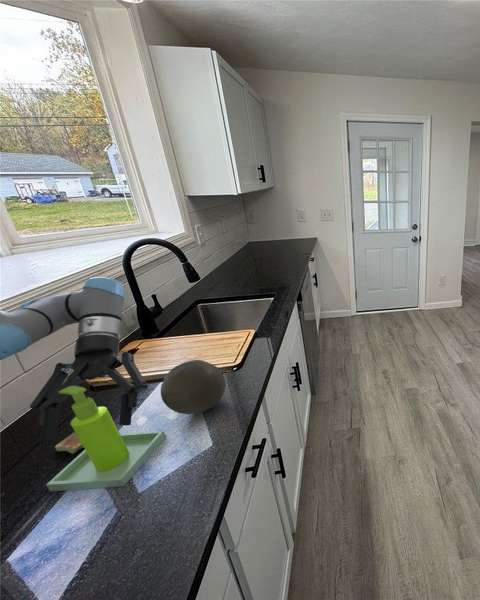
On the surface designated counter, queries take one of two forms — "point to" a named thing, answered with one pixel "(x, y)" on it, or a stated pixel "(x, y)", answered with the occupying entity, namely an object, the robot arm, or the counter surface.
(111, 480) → the green tray
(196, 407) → the dark grey rounded lump
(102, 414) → the soap dispenser
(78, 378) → the robot arm
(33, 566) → the counter surface
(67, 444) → the shard
